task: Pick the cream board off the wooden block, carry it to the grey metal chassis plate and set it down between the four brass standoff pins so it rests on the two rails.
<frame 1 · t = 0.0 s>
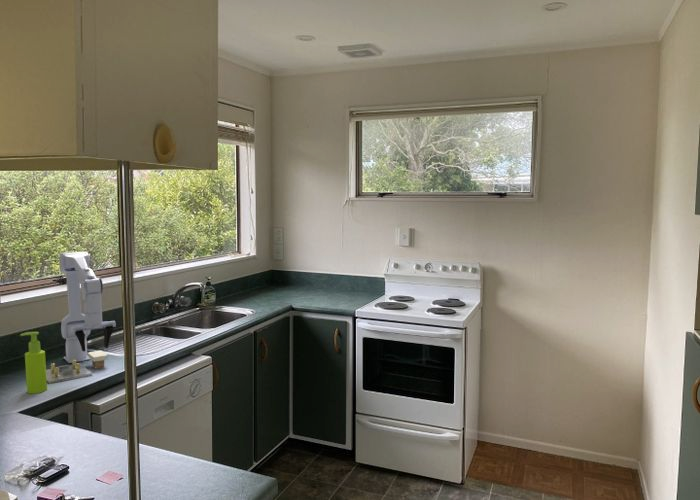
hand: (95, 348, 197), 10 cm above the worktop, tool pointing down, fingers open, 7 cm apart
chassis: (65, 374, 200), on the worktop
wooden block: (98, 365, 210), on the worktop
soap dispenser: (35, 391, 183), on the worktop
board: (97, 357, 210), point 3 cm above the worktop, touching wooden block
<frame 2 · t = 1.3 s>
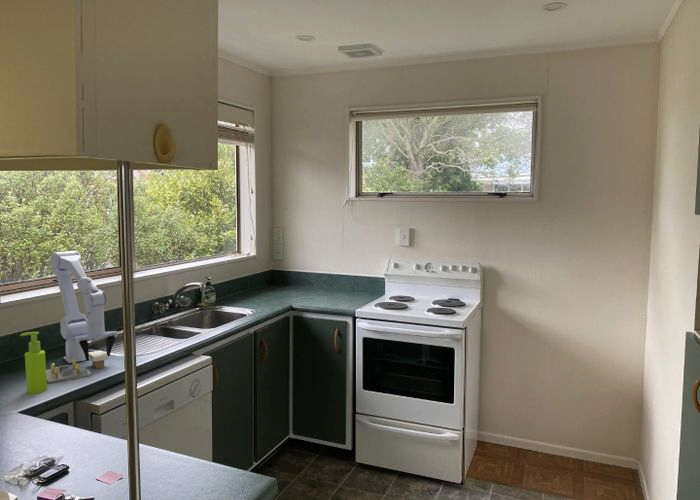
hand: (97, 357, 210), 3 cm above the worktop, tool pointing down, fingers open, 7 cm apart
nothing on the worktop moved.
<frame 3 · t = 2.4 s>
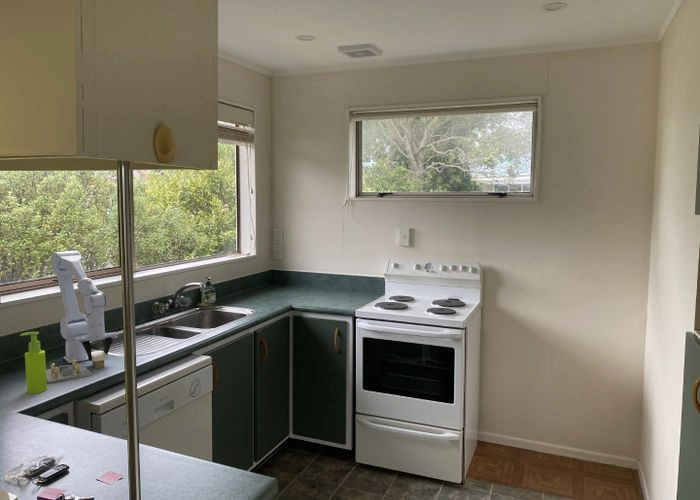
hand: (97, 358, 210), 3 cm above the worktop, tool pointing down, fingers closed on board, 5 cm apart
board: (97, 357, 210), point 3 cm above the worktop, touching gripper, wooden block
everything else where it was.
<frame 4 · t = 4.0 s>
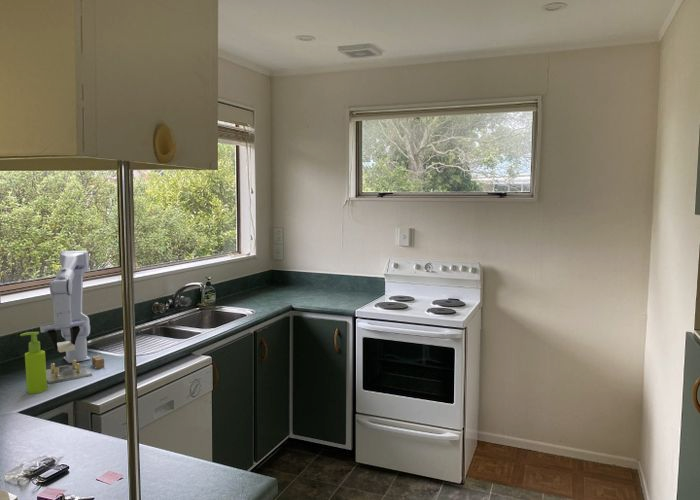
hand: (64, 348, 199), 10 cm above the worktop, tool pointing down, fingers closed on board, 5 cm apart
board: (64, 348, 199), point 10 cm above the worktop, touching gripper
everything else where it was.
when the fingers open (3 cm above the worktop, at t = 5.8 s): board stays where it is, resting on chassis.
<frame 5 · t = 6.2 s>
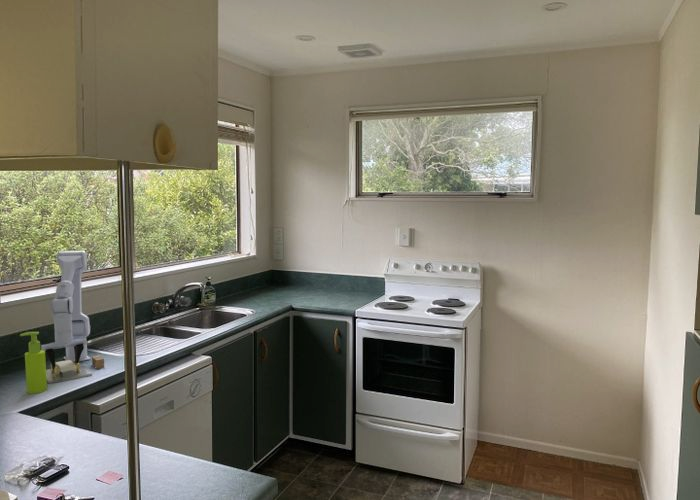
hand: (65, 366, 200), 3 cm above the worktop, tool pointing down, fingers open, 7 cm apart
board: (65, 367, 200), point 2 cm above the worktop, touching chassis
everything else where it was.
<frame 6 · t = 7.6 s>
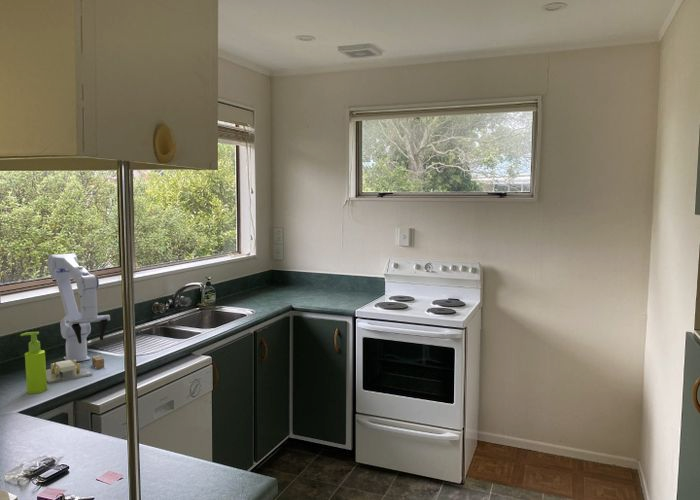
hand: (90, 341, 209), 10 cm above the worktop, tool pointing down, fingers open, 7 cm apart
nothing on the worktop moved.
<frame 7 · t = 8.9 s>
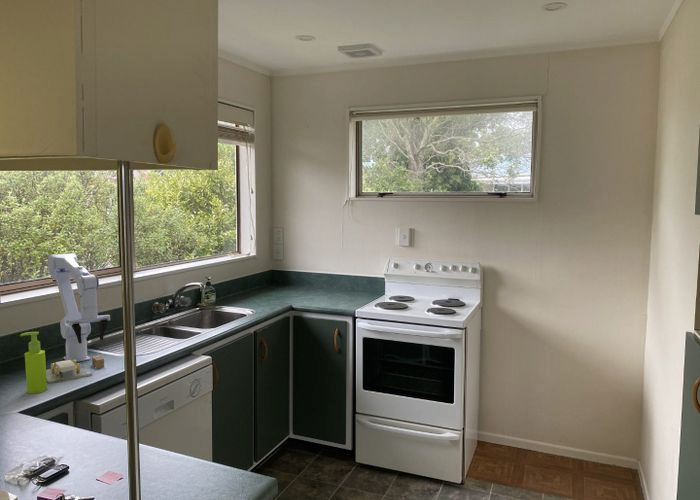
hand: (90, 341, 209), 10 cm above the worktop, tool pointing down, fingers open, 7 cm apart
nothing on the worktop moved.
at the end: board 0.3 cm off-centre on the chassis, point 2.4 cm above the chassis's base; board tilted 0°; the gripper is holding nothing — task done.
